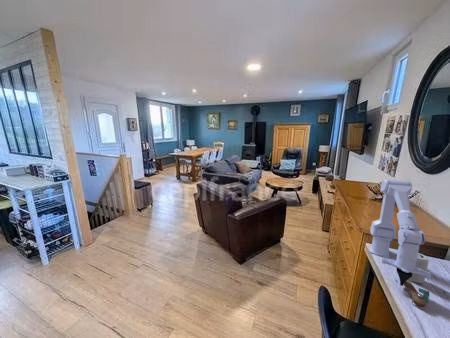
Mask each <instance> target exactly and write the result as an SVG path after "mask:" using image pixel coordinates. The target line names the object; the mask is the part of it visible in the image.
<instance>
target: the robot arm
mask: <svg viewBox="0 0 450 338" xmlns="http://www.w3.org/2000/svg"><path fill="white" fill-rule="evenodd" d="M412 190H413V185H412V182H411V181H410V180H408V179H407V180H403V179H402V180H401V179H391V178H390V179H388V178H384V179H383V180H382V181H381V184H380V193H383V197H382V202H381V208H380V215H379V219H376V220H373V221H372V222H371V225H370V227H369V231H370V235H371V236H372V242H371V244H370V250H369V252H370V253H371V254H374V255H377V256H381V257H382V259H381V264H383V265H385V264H386V265H389V266H392V267H395V268H396V273H397V275H398V278H399V285H400V286H401V287H403V286H404V285H403V284H404V283H405V282H406V281H407V280H409V278H411V277H412V273H415V274H418V275H421V276H424V277H425V279H428V280H431V277H432V275H431V272H429V271H428V270H427V271H424V270H422V269H420V268H418V267H415V265H416V260H417V256H418V253H419V251H420V246H423V245H424V244H425V241H426V239H425V238H426V237H425V233H424V231H423V230H422V229H421V227H419V225H418V221H417V219H416V218H417V217H416V214H415V213H413V212H412V211H411V207H410V206H411V205H410V198H409V195H410V194H411V193H412ZM395 204H396V206H397V210H398V212H397V214H396V217H397V223H398V227H399V229H398V231H397V227H396V226H395V224H394V223H392V220H393V215H394V210H395ZM396 237H398V238H397V242H398V249H397V255H396V259H393V258H390V245H391V242H392V241H393V240H395V239H396Z"/></svg>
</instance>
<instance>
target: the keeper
mask: <svg viewBox="0 0 450 338" xmlns="http://www.w3.org/2000/svg"><path fill="white" fill-rule="evenodd" d="M418 293H420V294H422V295H423V297H424V298H425V299H426V303H425V304H429V303H428V302H429V298H430V291H428V290H426V289H422V288H421V287H420V288H418Z"/></svg>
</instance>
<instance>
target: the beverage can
mask: <svg viewBox="0 0 450 338" xmlns="http://www.w3.org/2000/svg"><path fill="white" fill-rule="evenodd" d="M428 265H429V260H428V257H427V256H426V255H425V254H422V253H420V252H418V256H417V260H416V265H415V267H418V268H420V269H422V270H424V271H427V272H428ZM408 280H409V281H410V282H411V283H412V282H413V283H416V284H423V283H425V280H426V277H424V276H421V275H418V274H415V273H412V277H411V278H409V279H408Z"/></svg>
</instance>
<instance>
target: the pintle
mask: <svg viewBox="0 0 450 338" xmlns="http://www.w3.org/2000/svg"><path fill="white" fill-rule="evenodd" d="M423 295H424V294H422V293H419V294H418V295H417V296H418V297H419V298H421V299H423ZM411 304H412V305H413V306H414V307H416V308H417V309H420V310H426V306H425V307H419V306H417V305H416V304H414V302H413V299H412V300H411Z"/></svg>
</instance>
